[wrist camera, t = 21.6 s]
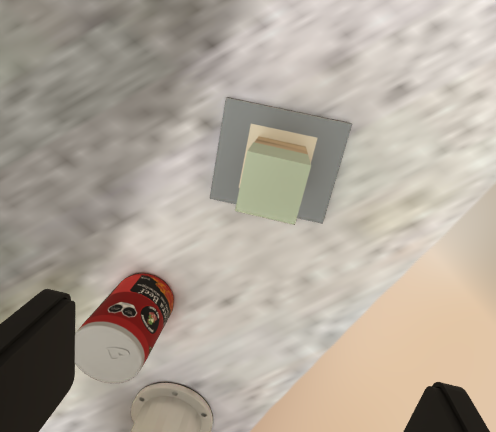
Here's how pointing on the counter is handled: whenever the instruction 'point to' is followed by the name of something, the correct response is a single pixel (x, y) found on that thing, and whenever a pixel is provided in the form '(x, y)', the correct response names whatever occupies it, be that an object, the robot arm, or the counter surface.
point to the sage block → (273, 183)
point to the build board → (287, 130)
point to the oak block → (282, 145)
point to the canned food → (123, 329)
